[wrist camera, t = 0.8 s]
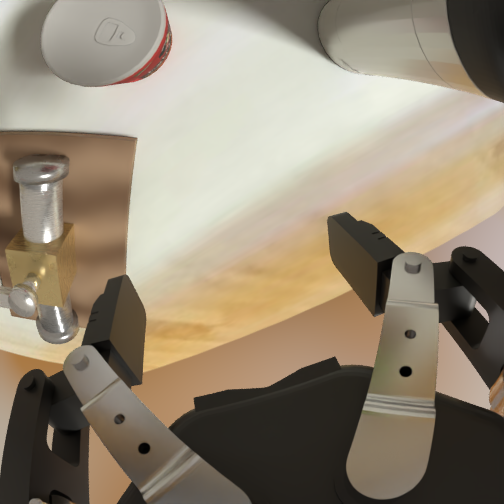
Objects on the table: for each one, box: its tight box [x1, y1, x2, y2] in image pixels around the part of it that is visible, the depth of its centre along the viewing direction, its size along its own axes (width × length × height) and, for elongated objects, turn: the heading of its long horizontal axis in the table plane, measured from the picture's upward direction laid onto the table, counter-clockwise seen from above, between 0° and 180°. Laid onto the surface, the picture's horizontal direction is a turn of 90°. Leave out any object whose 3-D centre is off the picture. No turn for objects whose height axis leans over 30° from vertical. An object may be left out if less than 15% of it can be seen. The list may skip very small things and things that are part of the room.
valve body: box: [5, 154, 79, 344], centre depth 25 cm, size 20×6×9 cm, turn 166°
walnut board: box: [0, 132, 137, 328], centre depth 29 cm, size 24×17×2 cm
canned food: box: [41, 0, 172, 87], centre depth 17 cm, size 8×8×11 cm
